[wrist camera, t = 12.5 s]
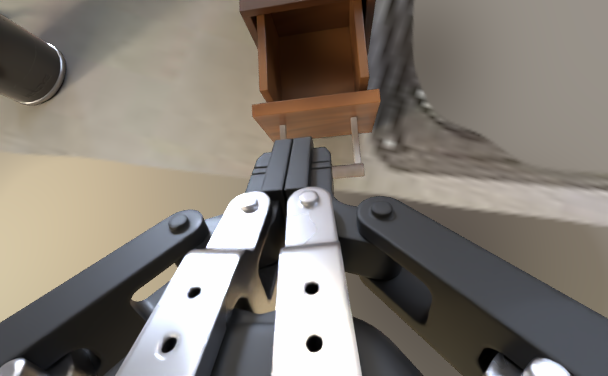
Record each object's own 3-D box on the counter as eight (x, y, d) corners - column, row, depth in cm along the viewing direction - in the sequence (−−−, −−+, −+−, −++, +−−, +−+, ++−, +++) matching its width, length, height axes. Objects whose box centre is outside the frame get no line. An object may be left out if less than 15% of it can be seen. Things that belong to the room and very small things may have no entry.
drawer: (376, 182, 30) (388, 167, 23) (275, 191, 32) (254, 179, 24) (360, 25, 33) (365, -36, 26) (268, 39, 35) (247, -14, 27)
